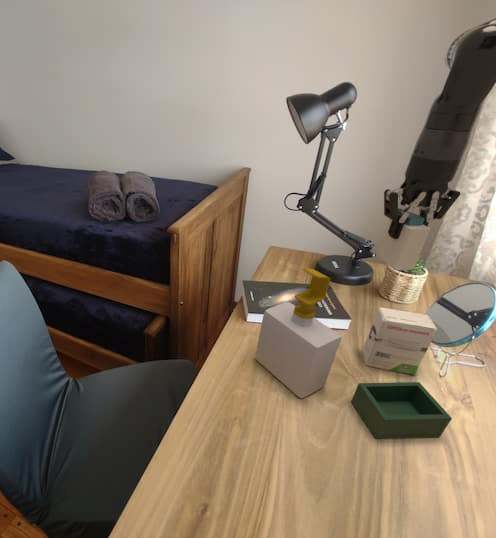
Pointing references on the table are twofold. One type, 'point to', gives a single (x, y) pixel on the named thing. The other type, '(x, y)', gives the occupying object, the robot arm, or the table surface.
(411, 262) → the beige teal-capped bottle
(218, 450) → the table surface
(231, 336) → the table surface
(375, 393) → the holder
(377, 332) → the ink box
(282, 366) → the soap bottle
